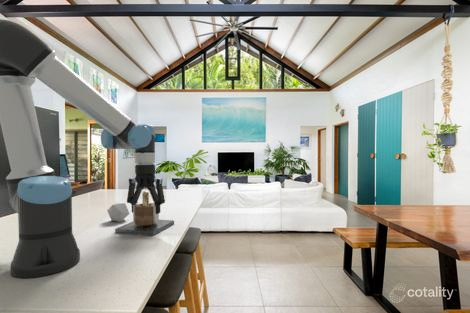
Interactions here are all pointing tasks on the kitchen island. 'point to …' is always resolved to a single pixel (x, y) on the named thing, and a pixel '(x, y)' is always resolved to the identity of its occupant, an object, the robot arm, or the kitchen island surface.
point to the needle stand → (145, 229)
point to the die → (118, 212)
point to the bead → (143, 214)
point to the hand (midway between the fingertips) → (146, 221)
